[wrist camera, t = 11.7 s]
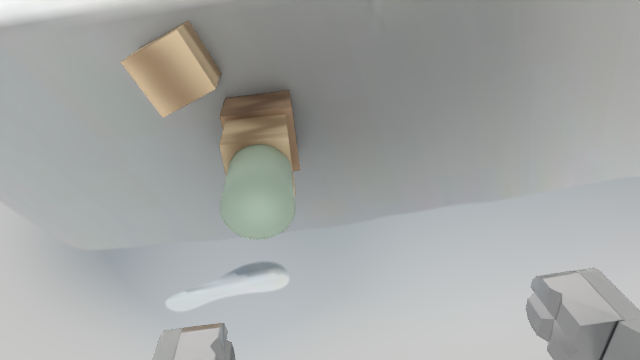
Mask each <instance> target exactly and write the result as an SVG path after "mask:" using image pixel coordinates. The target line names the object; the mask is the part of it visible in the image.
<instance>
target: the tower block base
mask: <svg viewBox="0 0 640 360" xmlns="http://www.w3.org/2000/svg"><path fill="white" fill-rule="evenodd" d="M279 114H286V122H287V130H288V138H289V145H290V153H291V161H292V169H293V171H299V170H300V165H299V158H298V150H297V142H296V135H295V127H294V119H293V112H292V105H291V99H290V93H289V90H287V91H279V92H270V93H262V94H254V95H246V96H238V97H230V98H225V101H224V104H223V108H222V111H221V114H220V120H221V124H222V128H223V129H224V125H225V121H226V120H235V119H243V118H252V117H261V116H270V115H279Z"/></svg>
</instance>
